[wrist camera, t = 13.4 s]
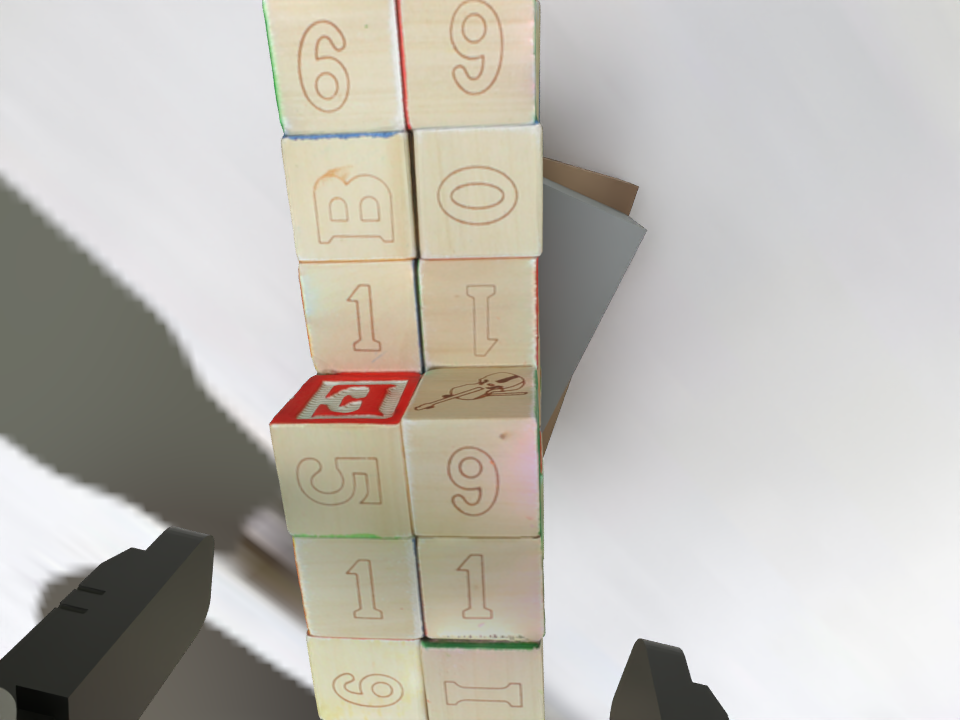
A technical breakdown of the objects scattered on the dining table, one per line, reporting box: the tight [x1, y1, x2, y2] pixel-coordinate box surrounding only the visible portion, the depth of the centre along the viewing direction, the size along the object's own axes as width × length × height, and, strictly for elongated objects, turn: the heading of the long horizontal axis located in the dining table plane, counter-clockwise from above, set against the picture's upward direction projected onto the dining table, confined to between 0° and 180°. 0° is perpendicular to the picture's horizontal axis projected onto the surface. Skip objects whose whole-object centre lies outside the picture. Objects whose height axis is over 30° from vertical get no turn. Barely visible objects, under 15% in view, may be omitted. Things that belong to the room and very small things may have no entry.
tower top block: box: [538, 177, 647, 433], centre depth 28 cm, size 9×14×6 cm, turn 157°
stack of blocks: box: [262, 0, 545, 720], centre depth 20 cm, size 21×6×12 cm, turn 2°
